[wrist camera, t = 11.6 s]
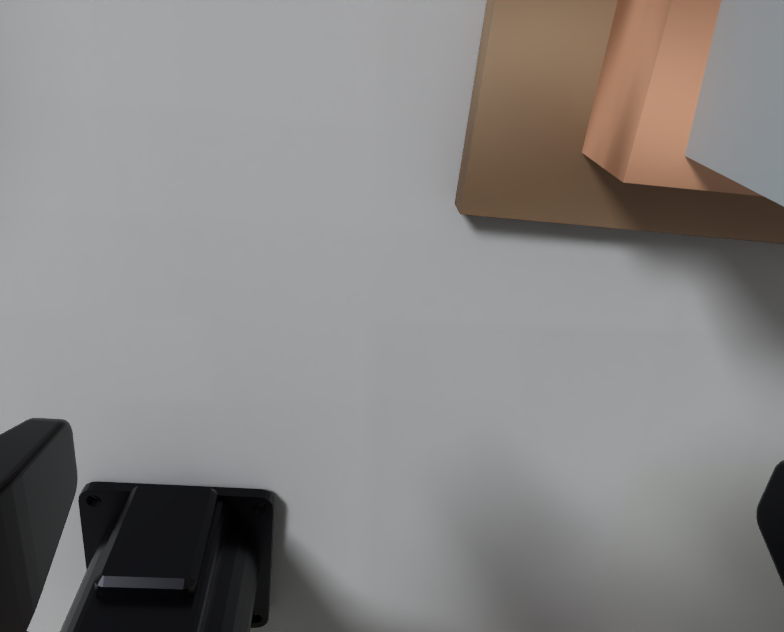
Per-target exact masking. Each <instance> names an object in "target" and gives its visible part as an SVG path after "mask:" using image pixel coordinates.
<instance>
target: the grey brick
mask: <svg viewBox="0 0 784 632" xmlns="http://www.w3.org/2000/svg"><path fill="white" fill-rule="evenodd" d="M685 156H686V157H688V158H690V159H692V160H694V161H696V162H698V163H700V164H702V165H704V166H706V167H708V168H710V169H712V170H714V171H715V172H717V173H719V174H721V175H723V176H725V177H727V178H729V179H731V180H733V181H735V182H737V183H739V184H741V185H743V186H745V187H747V188H749V189H750V190H752V191H754V192H756V193H758V194H760V195H762V196H764V197H766V198H768V199H770V200H772V201H774V202H776V203H778V204H780V205H782V206H784V0H721V4H720V8H719V12H718V17H717V21H716V25H715V29H714V34H713V38H712V42H711V46H710V51H709V55H708V59H707V63H706V68H705V72H704V76H703V80H702V85H701V89H700V93H699V97H698V102H697V106H696V110H695V114H694V119H693V123H692V127H691V131H690V136H689V140H688V144H687V148H686V152H685Z"/></svg>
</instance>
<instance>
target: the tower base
mask: <svg viewBox="0 0 784 632" xmlns="http://www.w3.org/2000/svg"><path fill="white" fill-rule="evenodd" d="M720 4H721V0H487V4H486V11H485V17H484V23H483V29H482V36H481V42H480V48H479V55H478V61H477V67H476V74H475V80H474V86H473V92H472V99H471V105H470V111H469V118H468V124H467V130H466V136H465V143H464V149H463V155H462V162H461V168H460V174H459V181H458V187H457V193H456V199H455V205H456V207H457V209H458V211H459V213H460V214H464V215H475V216H486V217H497V218H508V219H519V220H530V221H541V222H552V223H563V224H573V225H584V226H595V227H606V228H617V229H628V230H639V231H650V232H661V233H672V234H683V235H694V236H705V237H716V238H727V239H738V240H749V241H759V242H770V243H781V244H784V206H782V205H780V204H778V203H776V202H774V201H772V200H770V199H768V198H766V197H764V196H762V195H760V194H758V193H756V192H754V191H752V190H750V189H749V188H747V187H745V186H743V185H741V184H739V183H737V182H735V181H733V180H731V179H729V178H727V177H725V176H723V175H721V174H719V173H717V172H715V171H714V170H712V169H710V168H708V167H706V166H704V165H702V164H700V163H698V162H696V161H694V160H692V159H690V158H688V157H686V156H685V152H686V148H687V144H688V140H689V136H690V131H691V127H692V123H693V119H694V114H695V110H696V106H697V102H698V97H699V93H700V89H701V85H702V80H703V76H704V72H705V68H706V63H707V59H708V55H709V51H710V46H711V42H712V38H713V34H714V29H715V25H716V21H717V17H718V12H719V8H720Z"/></svg>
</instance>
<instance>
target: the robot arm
mask: <svg viewBox="0 0 784 632" xmlns="http://www.w3.org/2000/svg"><path fill="white" fill-rule="evenodd" d="M76 488H77V467H76V459H75V450H74V442H73V433H72V429H71V426H70V424H69V423H68V422H67V421H66V420H63V419H47V418H32V419H29V420H27V421H24V422H23V423H21V424H19V425H17V426H15V427H13V428H12V429H10V430H8V431H6V432H4V433H3V434H1V435H0V632H27V631H26V630H27V628H28V626H29V624H30V621H31V619H32V617H33V614H34V612H35V609H36V607H37V604H38V601H39V598H40V596H41V593H42V590H43V587H44V584H45V581H46V578H47V575H48V572H49V569H50V566H51V564H52V561H53V558H54V555H55V552H56V549H57V546H58V543H59V540H60V537H61V534H62V531H63V528H64V525H65V522H66V519H67V517H68V514H69V511H70V508H71V505H72V502H73V499H74V496H75V492H76ZM92 495H94V496H98V497H99V498H100V499H96V498H94V497H92ZM255 503H263V504H264V505H263V506H258V505H255ZM79 509H80V517H81V526H82V534H83V543H84V551H85V559H86V568H87V572H86V574H85V576H84V578H83V581H82V583H81V585H80V587H79V590H78V592H77V594H76V597H75V599H74V601H73V603H72V606H71V608H70V610H69V612H68V615H67V617H66V619H65V622H64V624H63V626H62V628H61V631H60V632H250V628H257V627H261V626H264V625H265V624H266V623H267V621H268V617H269V607H270V585H271V564H272V542H273V521H274V497H273V495H272V494H271V493H270V492H268V491H266V490H262V489H244V488H222V487H201V486H179V485H157V484H136V483H114V482H91V483H88V484H86V485H85V487H84V488H83V490H82V492H81V494H80V496H79ZM757 522H758V526H759V529H760V531H761V533H762V536H763V538H764V540H765V543H766V545H767V548H768V550H769V552H770V555H771V557H772V559H773V562H774V564H775V567H776V569H777V571H778V574H779V576H780V578H781V581H782V583H783V586H784V460H783V461H781V462H780V463H779V464H778V465H776V467H775V469H774V471H773V473H772V475H771V478H770V480H769V482H768V484H767V486H766V489H765V491H764V493H763V495H762V497H761V500H760V502H759V504H758V507H757ZM255 614H257V615H255Z"/></svg>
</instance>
